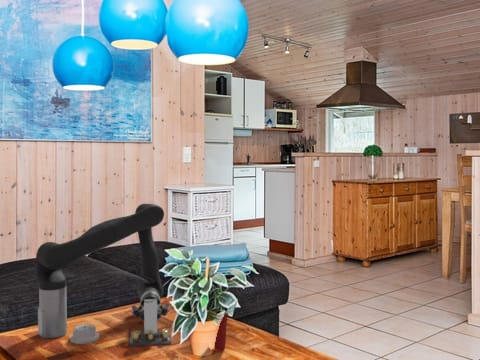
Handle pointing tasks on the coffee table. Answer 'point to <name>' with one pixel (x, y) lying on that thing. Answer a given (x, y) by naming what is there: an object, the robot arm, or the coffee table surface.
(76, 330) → the mechanical component
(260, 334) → the coffee table surface
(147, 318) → the block
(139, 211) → the robot arm
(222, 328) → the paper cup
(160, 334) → the pin plate
